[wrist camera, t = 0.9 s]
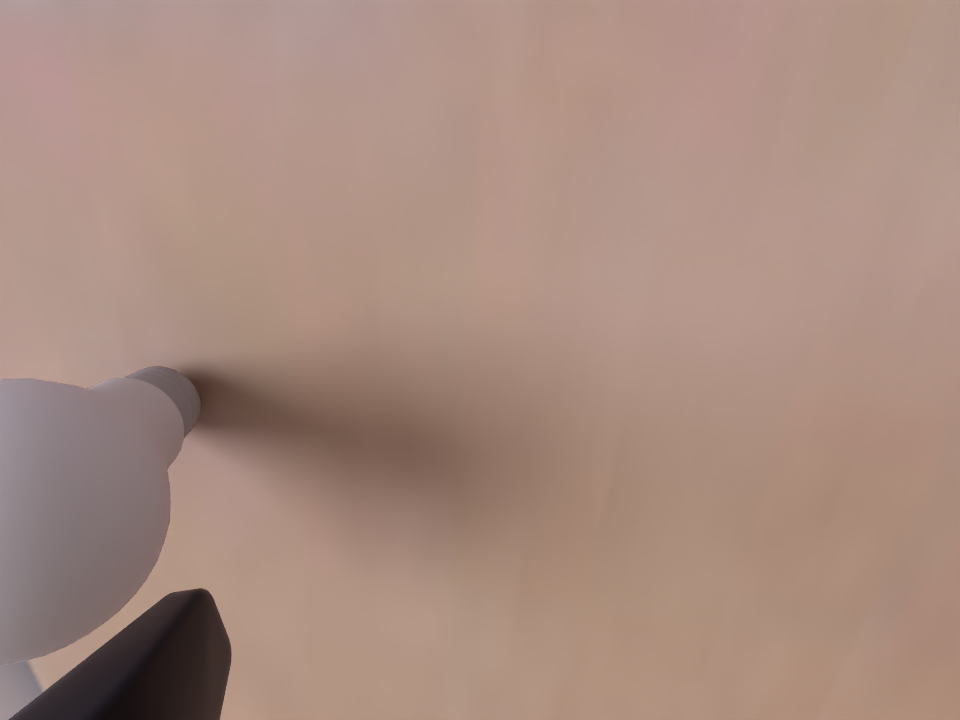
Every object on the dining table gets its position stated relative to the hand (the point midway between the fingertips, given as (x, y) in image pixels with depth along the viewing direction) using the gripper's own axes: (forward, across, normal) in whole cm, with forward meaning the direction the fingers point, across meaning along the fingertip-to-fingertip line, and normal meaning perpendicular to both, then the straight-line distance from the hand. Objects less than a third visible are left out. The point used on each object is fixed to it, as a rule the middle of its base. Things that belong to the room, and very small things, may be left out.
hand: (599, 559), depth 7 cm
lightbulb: (+15, +12, +2) cm, 19 cm away
